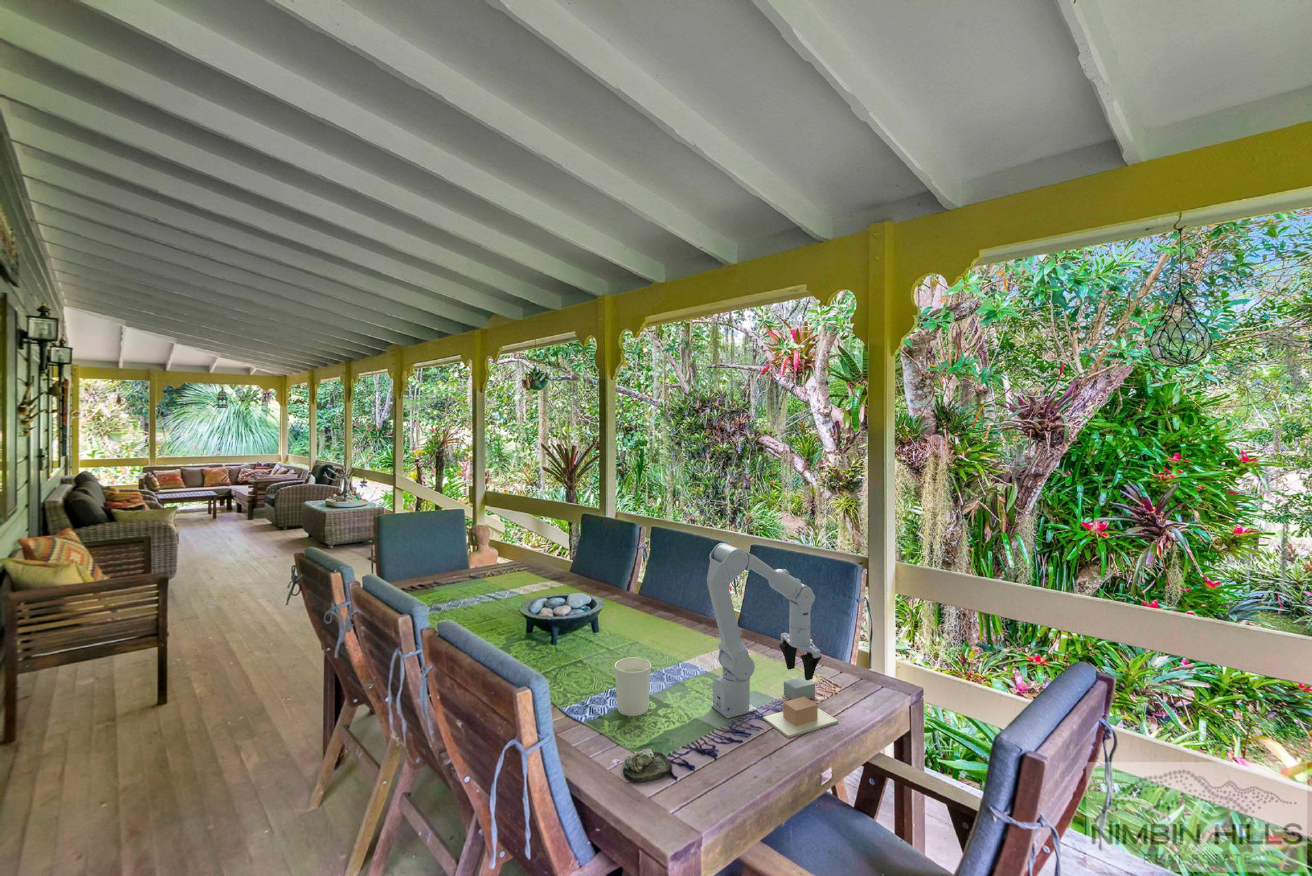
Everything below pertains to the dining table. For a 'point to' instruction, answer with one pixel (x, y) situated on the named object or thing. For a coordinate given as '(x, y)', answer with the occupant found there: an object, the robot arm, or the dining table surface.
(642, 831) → the dining table surface
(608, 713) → the dining table surface
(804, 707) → the terracotta brick
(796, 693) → the slate brick
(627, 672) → the candle holder
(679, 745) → the dining table surface
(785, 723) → the baseboard
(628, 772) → the dark green oval dish
